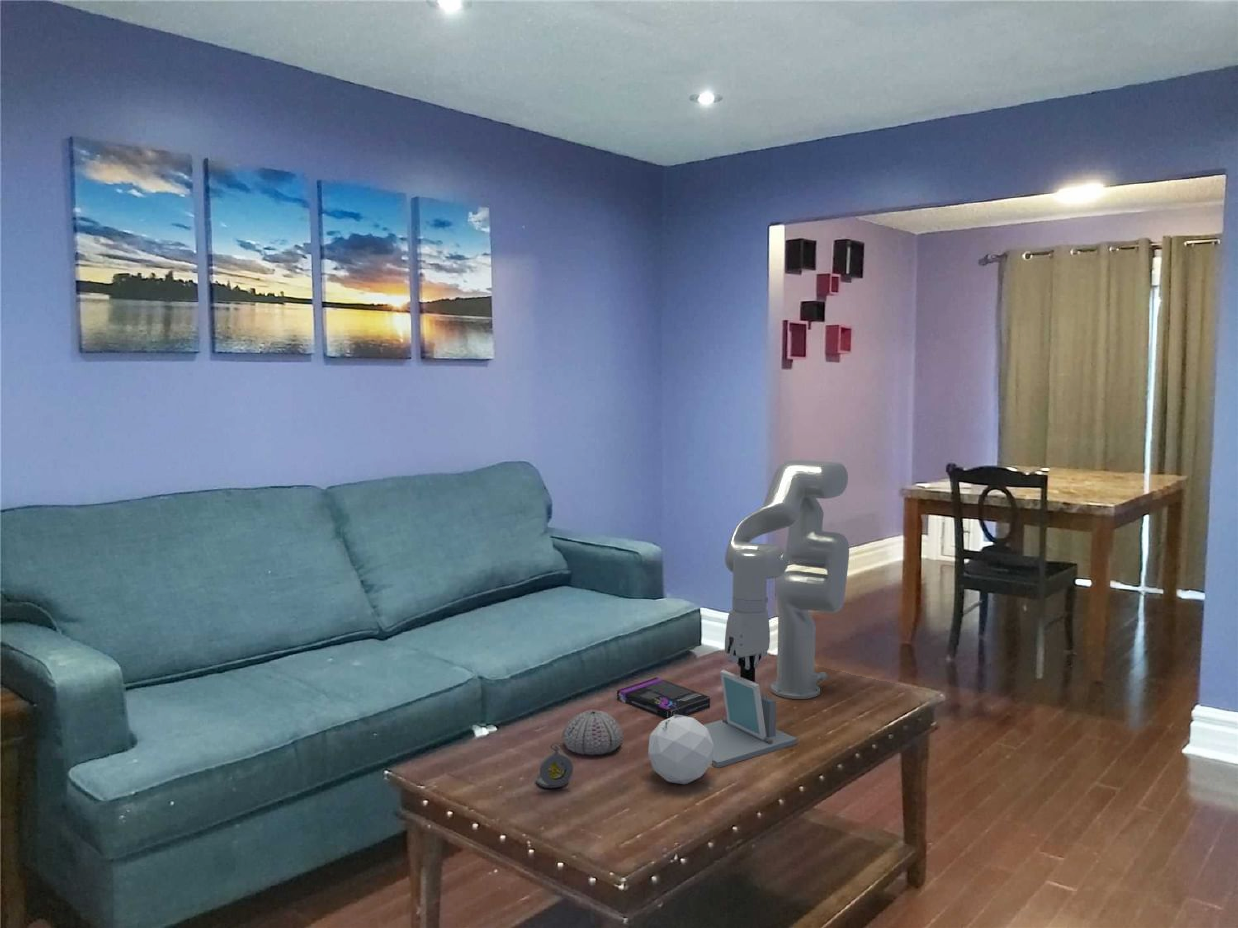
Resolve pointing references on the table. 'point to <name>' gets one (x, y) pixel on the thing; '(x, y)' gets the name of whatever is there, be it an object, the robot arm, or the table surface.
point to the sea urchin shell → (592, 733)
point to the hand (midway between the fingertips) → (747, 684)
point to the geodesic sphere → (680, 749)
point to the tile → (743, 704)
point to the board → (747, 738)
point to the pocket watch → (555, 769)
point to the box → (663, 698)
